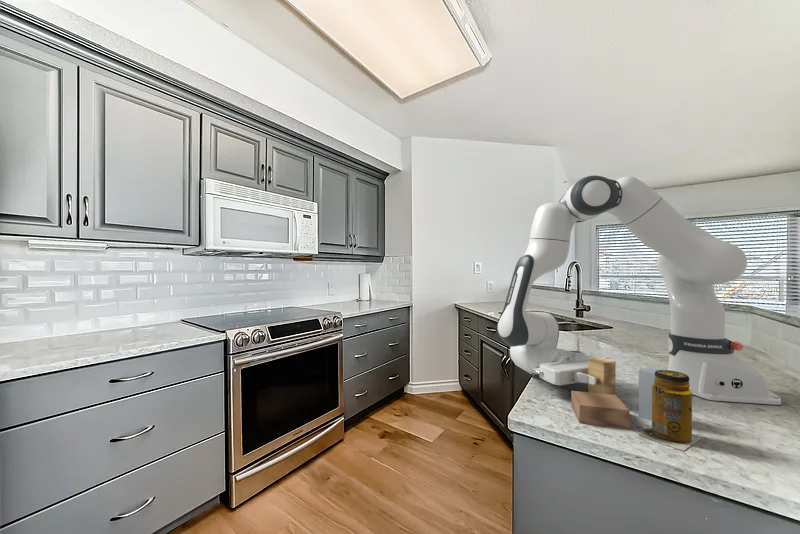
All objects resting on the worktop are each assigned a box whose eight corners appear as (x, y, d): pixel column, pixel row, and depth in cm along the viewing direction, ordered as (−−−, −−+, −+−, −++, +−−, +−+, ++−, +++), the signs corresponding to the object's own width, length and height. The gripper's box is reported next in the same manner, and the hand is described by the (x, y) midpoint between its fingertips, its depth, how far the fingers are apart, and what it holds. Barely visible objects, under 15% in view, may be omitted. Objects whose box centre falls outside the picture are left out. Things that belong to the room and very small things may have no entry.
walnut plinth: (615, 413, 78) (615, 394, 78) (629, 430, 69) (629, 410, 69) (571, 408, 80) (571, 390, 80) (579, 424, 72) (579, 405, 72)
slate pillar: (650, 413, 77) (650, 367, 77) (670, 420, 73) (670, 372, 73) (638, 416, 75) (638, 369, 75) (658, 423, 72) (658, 374, 72)
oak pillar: (599, 398, 86) (600, 357, 86) (615, 403, 82) (615, 361, 82) (588, 400, 84) (588, 358, 84) (603, 406, 81) (603, 363, 81)
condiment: (701, 439, 65) (700, 374, 65) (683, 451, 61) (683, 382, 61) (655, 424, 71) (655, 365, 71) (636, 435, 67) (636, 372, 67)
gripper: (528, 357, 91) (573, 371, 79) (584, 350, 99) (633, 362, 86) (528, 381, 91) (573, 399, 78) (584, 372, 99) (633, 388, 86)
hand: (605, 379), depth 82 cm, fingers closed on oak pillar, 4 cm apart
